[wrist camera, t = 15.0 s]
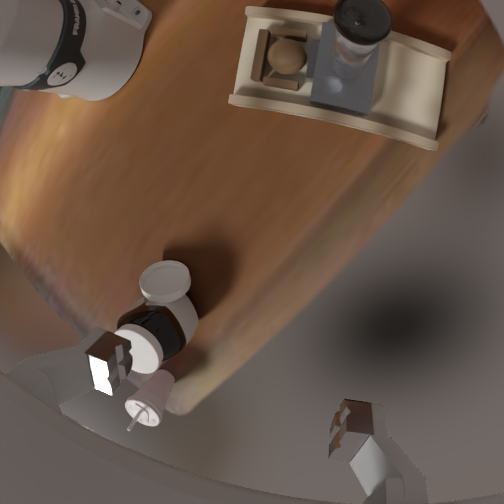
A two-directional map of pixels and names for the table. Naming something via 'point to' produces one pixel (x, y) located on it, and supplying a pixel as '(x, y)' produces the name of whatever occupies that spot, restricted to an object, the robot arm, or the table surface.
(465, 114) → the table surface
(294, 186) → the table surface
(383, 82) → the press base
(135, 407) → the smoothie
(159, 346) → the spread jar
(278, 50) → the walnut
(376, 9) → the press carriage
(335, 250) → the table surface
